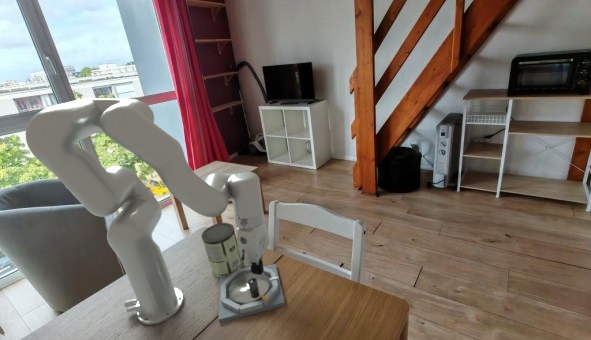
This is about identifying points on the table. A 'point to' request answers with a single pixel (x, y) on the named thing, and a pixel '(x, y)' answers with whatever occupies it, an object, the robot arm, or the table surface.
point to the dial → (248, 288)
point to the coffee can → (222, 249)
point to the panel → (269, 301)
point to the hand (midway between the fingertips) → (257, 272)
